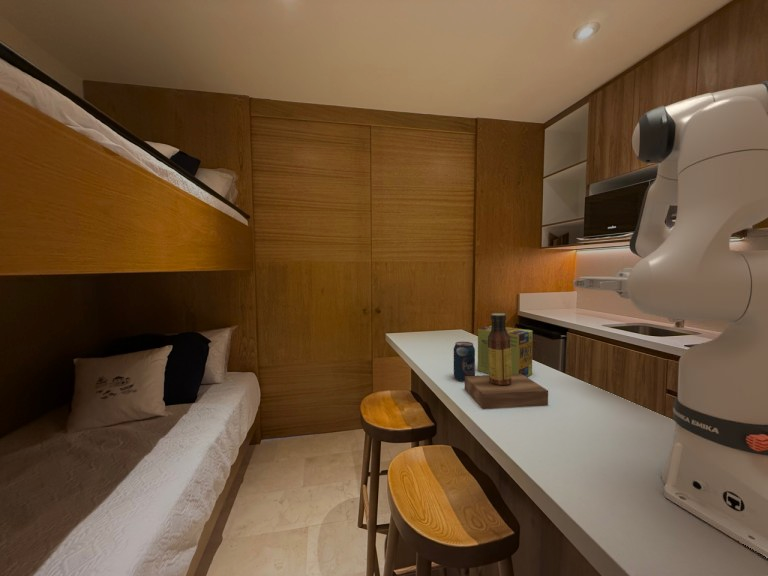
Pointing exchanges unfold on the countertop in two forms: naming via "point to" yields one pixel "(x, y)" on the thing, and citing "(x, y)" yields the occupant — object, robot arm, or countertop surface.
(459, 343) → the soda can
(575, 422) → the countertop surface
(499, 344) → the sauce bottle
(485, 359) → the protein box
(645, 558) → the countertop surface
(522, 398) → the walnut stand
